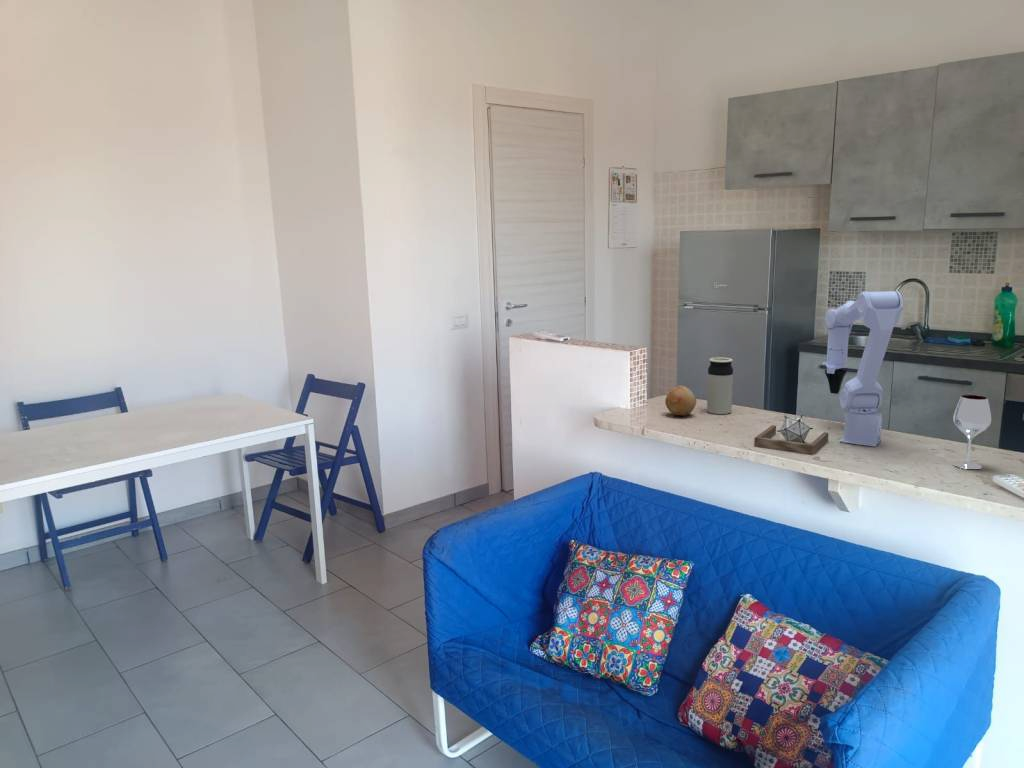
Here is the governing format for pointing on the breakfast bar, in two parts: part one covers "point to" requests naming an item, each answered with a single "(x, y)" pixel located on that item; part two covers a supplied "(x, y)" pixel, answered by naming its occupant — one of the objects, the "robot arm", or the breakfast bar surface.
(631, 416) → the breakfast bar surface
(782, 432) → the game die
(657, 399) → the breakfast bar surface
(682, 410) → the onion
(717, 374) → the travel mug
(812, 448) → the u-shaped wooden tray
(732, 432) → the breakfast bar surface
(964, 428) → the wineglass
